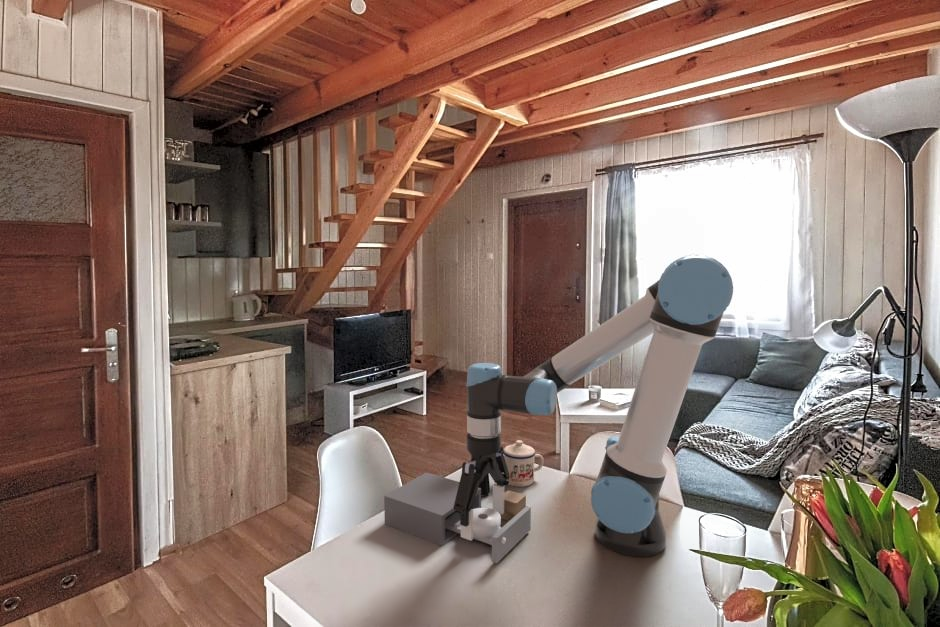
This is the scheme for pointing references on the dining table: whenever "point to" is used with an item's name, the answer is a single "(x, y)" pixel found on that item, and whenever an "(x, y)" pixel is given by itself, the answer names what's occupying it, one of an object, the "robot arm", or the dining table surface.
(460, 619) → the dining table surface
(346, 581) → the dining table surface
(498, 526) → the white domed disc
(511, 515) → the brown block
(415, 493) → the gray drawer box
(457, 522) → the pull-out drawer
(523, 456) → the teacup with lid
